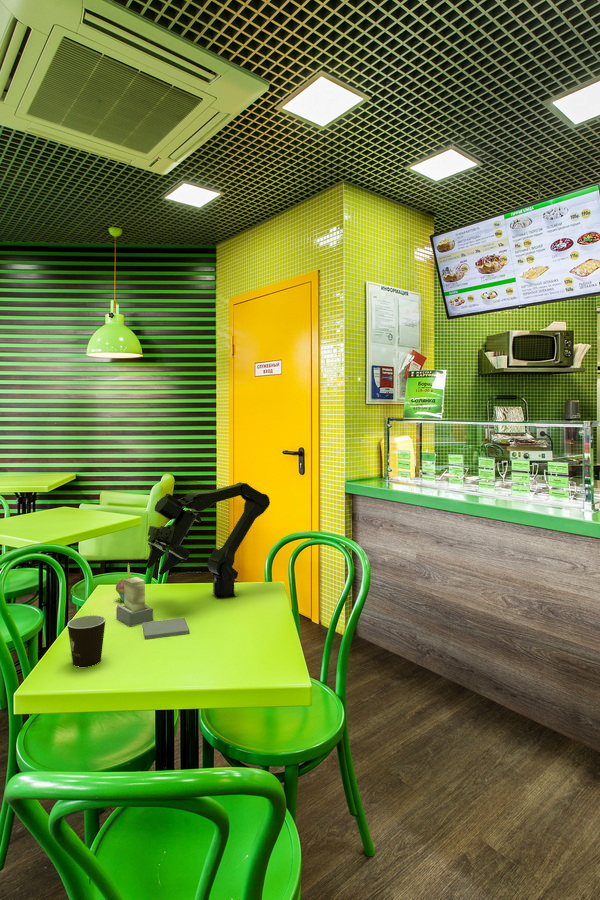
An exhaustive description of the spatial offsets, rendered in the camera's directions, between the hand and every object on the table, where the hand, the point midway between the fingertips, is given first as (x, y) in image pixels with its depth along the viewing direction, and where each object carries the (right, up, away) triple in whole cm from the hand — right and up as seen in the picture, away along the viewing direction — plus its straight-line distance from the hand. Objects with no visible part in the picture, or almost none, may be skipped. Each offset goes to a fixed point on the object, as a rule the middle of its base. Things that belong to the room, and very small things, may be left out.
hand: (153, 571), depth 162 cm
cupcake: (-11, -12, +11) cm, 20 cm away
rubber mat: (+7, -13, -14) cm, 21 cm away
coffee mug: (-7, -14, -33) cm, 37 cm away
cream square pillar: (-4, -13, -6) cm, 15 cm away
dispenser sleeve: (-4, -13, -6) cm, 15 cm away
